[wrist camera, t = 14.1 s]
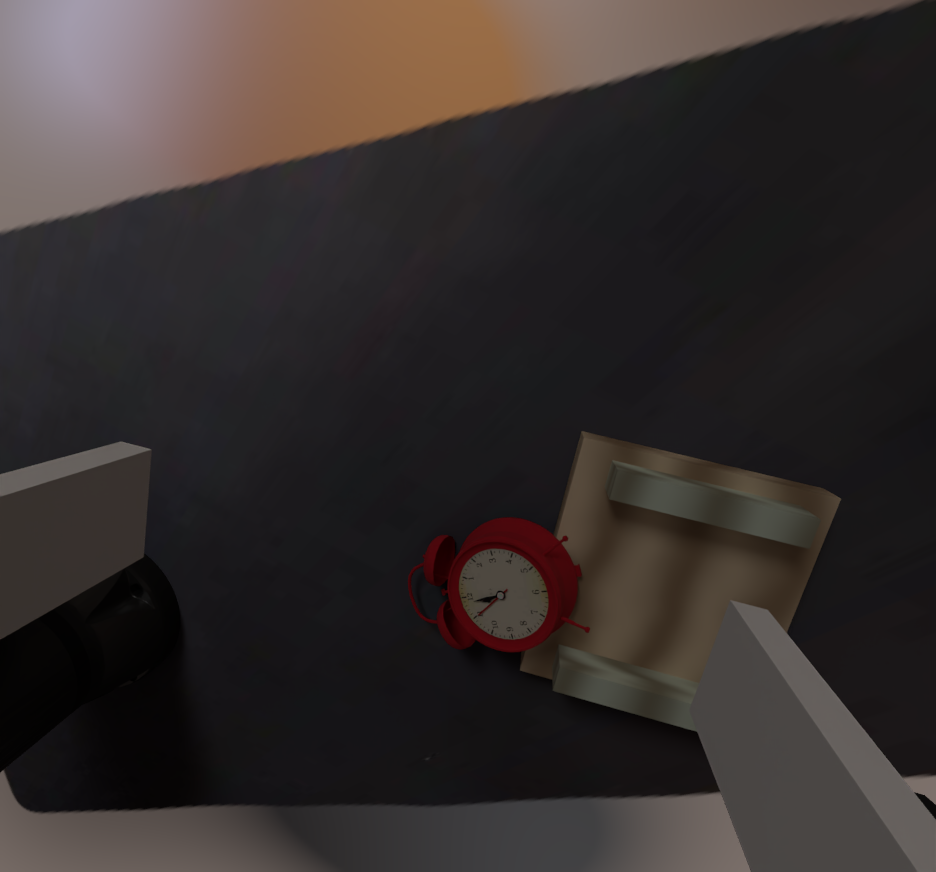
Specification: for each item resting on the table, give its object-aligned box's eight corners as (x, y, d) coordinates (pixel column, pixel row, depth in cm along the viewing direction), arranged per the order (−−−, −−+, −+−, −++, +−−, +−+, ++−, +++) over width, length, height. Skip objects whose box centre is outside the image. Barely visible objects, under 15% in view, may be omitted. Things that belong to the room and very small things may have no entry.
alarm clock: (599, 655, 38) (408, 684, 41) (594, 618, 44) (428, 646, 47) (565, 517, 37) (374, 557, 40) (564, 500, 44) (399, 535, 46)
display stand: (521, 652, 47) (518, 694, 41) (581, 431, 42) (587, 446, 37) (734, 712, 45) (760, 763, 40) (823, 488, 40) (865, 513, 35)
